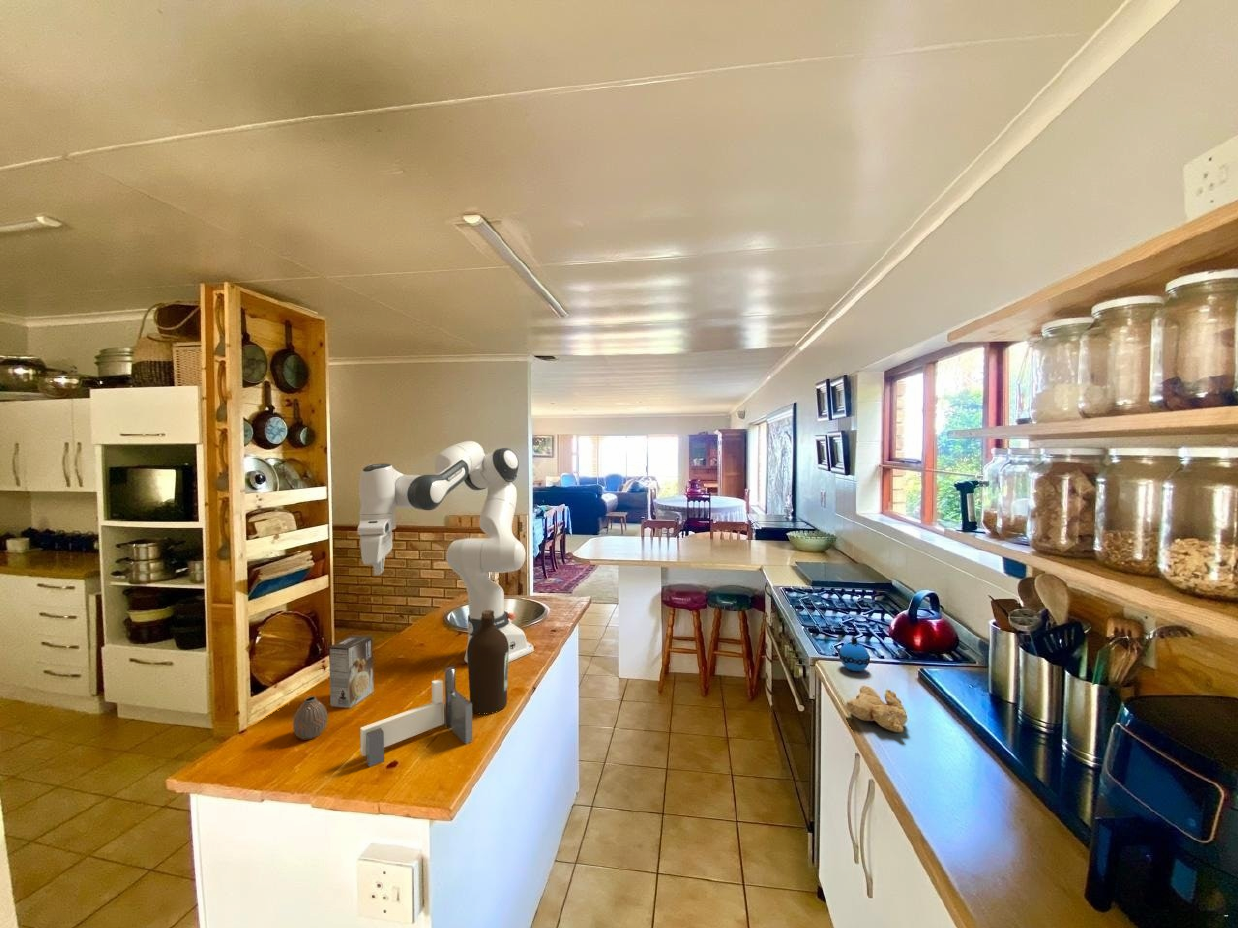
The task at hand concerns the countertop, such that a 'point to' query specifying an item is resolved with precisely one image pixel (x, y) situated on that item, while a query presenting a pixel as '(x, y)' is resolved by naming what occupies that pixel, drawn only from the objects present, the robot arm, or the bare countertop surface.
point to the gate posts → (455, 718)
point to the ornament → (854, 656)
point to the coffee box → (351, 670)
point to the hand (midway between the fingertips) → (378, 573)
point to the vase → (310, 719)
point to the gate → (409, 720)
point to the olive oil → (488, 666)
